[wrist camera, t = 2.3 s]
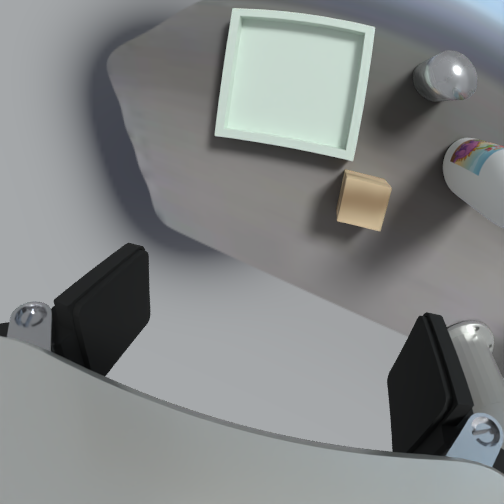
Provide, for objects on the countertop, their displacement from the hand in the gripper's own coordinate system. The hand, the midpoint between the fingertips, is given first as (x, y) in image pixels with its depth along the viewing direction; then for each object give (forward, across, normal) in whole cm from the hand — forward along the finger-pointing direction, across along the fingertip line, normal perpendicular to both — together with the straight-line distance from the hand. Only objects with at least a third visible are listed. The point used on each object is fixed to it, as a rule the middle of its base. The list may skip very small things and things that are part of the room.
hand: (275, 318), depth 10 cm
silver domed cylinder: (+30, -12, -14) cm, 35 cm away
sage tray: (+30, +4, -10) cm, 32 cm away
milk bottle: (+31, -19, -5) cm, 36 cm away
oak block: (+30, -6, +2) cm, 31 cm away
